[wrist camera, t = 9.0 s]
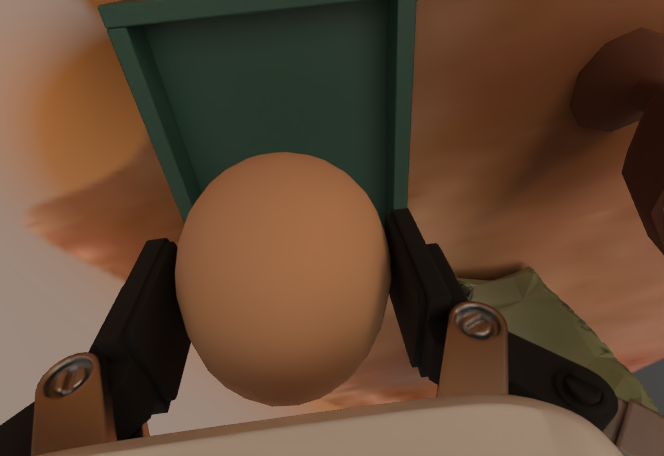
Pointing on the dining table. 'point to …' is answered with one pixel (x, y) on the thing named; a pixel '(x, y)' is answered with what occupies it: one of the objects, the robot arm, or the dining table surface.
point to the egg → (283, 277)
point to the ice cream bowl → (631, 115)
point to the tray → (271, 86)
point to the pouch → (553, 327)
